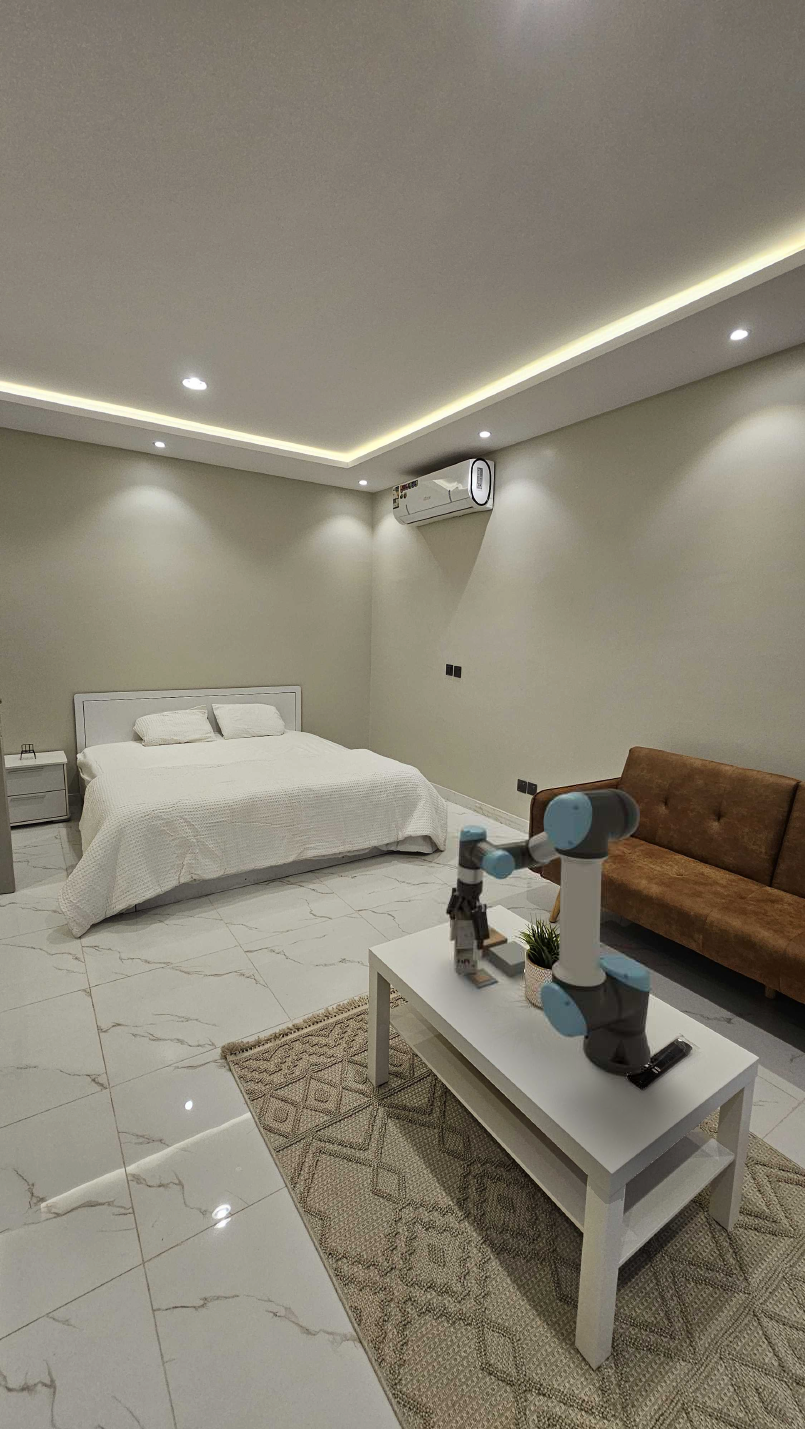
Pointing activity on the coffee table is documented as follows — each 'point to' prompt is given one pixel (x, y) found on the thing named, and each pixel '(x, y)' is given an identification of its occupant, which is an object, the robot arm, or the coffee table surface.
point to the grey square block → (508, 958)
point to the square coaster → (480, 978)
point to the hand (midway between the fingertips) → (465, 948)
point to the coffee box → (464, 943)
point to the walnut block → (493, 941)
